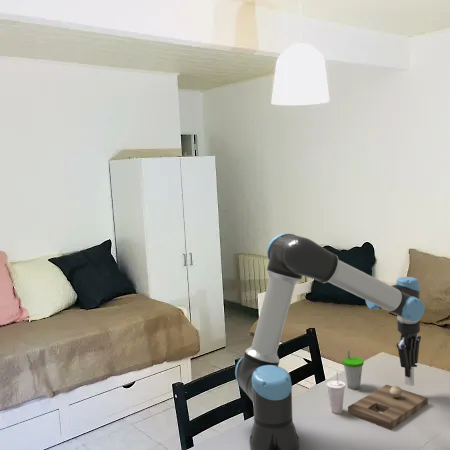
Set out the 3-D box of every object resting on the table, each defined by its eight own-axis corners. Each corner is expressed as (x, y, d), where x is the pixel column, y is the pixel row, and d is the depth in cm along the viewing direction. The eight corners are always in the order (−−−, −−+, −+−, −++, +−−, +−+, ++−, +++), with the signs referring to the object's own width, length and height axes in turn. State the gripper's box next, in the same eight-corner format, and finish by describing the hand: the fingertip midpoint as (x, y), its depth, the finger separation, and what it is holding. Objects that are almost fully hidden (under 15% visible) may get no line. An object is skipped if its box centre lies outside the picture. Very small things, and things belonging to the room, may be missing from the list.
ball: (398, 400, 178) (398, 389, 177) (387, 397, 181) (387, 386, 180) (404, 397, 180) (404, 386, 180) (394, 393, 183) (393, 382, 183)
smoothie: (346, 415, 174) (345, 375, 173) (327, 414, 176) (325, 375, 174) (345, 407, 181) (344, 368, 179) (327, 406, 182) (325, 367, 180)
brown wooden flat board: (390, 429, 164) (390, 422, 163) (348, 413, 176) (347, 406, 175) (427, 404, 179) (427, 397, 179) (386, 391, 191) (386, 384, 191)
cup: (365, 391, 192) (364, 352, 190) (343, 391, 193) (342, 352, 192) (363, 382, 200) (362, 345, 198) (342, 382, 201) (341, 345, 199)
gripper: (408, 327, 177) (409, 393, 179) (427, 318, 185) (428, 381, 188) (389, 323, 182) (390, 387, 185) (408, 314, 191) (409, 376, 193)
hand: (409, 384), depth 186 cm, fingers closed
